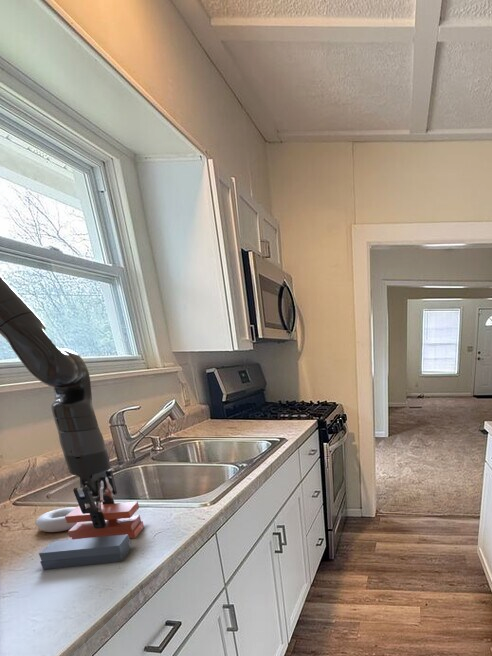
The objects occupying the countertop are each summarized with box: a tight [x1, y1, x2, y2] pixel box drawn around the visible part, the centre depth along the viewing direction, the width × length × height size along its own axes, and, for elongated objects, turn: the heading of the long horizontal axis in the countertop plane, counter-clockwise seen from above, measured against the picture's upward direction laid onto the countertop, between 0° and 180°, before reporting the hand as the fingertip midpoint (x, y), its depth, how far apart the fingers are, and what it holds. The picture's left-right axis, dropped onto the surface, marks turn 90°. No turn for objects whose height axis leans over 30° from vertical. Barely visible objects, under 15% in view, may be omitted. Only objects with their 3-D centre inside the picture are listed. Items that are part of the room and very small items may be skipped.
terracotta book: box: [65, 501, 140, 523], centre depth 91 cm, size 12×6×2 cm, turn 103°
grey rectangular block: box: [38, 534, 131, 570], centre depth 82 cm, size 14×5×4 cm, turn 103°
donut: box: [35, 507, 78, 533], centre depth 97 cm, size 10×4×10 cm
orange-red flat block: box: [67, 514, 145, 540], centre depth 92 cm, size 13×6×3 cm, turn 103°
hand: (106, 521), depth 92 cm, fingers closed on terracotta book, 6 cm apart
